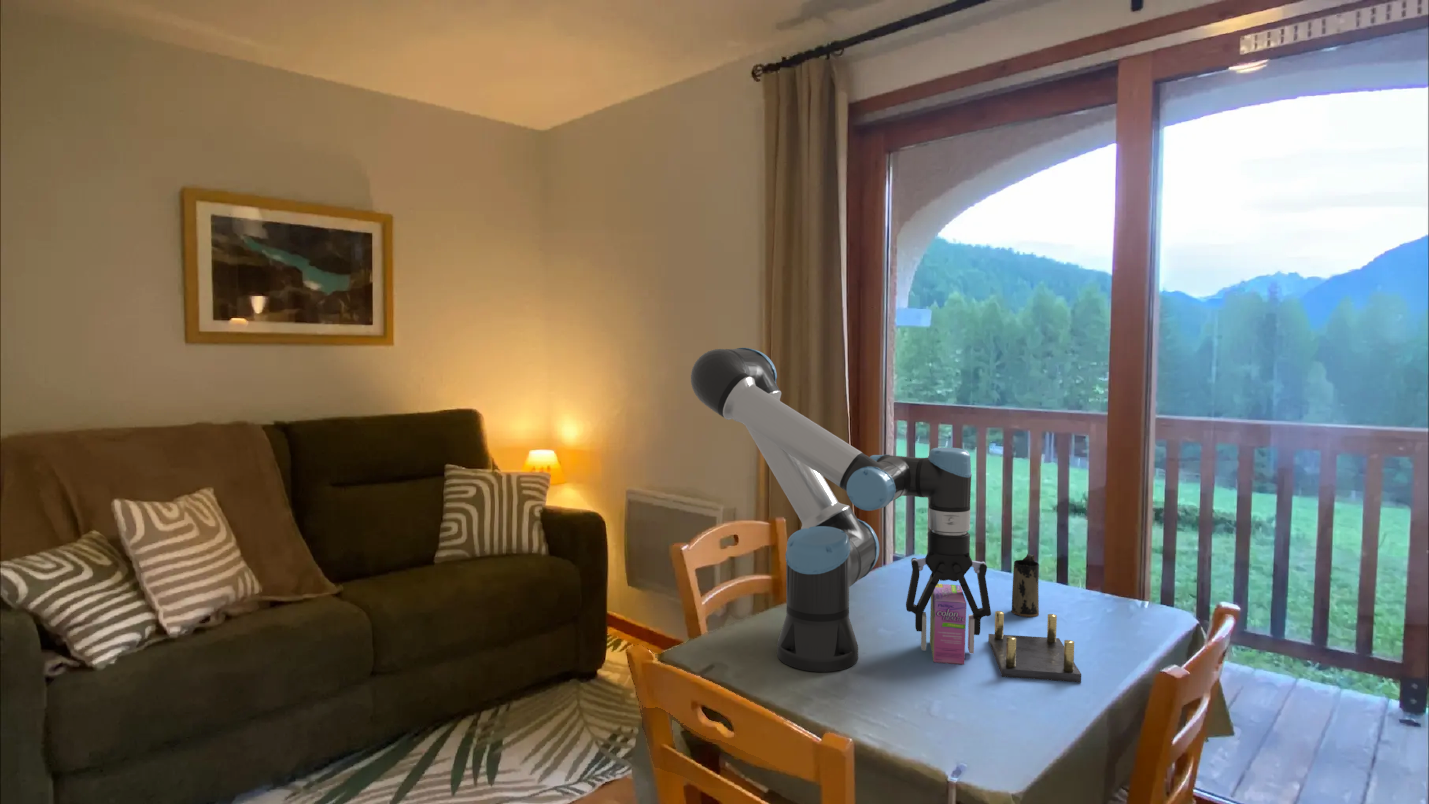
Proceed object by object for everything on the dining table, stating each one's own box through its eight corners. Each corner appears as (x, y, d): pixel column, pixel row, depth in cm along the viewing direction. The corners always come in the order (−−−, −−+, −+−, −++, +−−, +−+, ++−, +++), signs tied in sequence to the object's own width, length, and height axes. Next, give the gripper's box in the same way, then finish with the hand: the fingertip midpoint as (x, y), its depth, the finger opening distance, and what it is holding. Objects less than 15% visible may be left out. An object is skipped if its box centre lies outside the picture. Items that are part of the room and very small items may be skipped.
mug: (1035, 619, 169) (1037, 563, 168) (1008, 614, 172) (1009, 559, 171) (1043, 608, 176) (1044, 555, 175) (1017, 604, 179) (1018, 551, 178)
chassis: (1001, 676, 140) (1002, 640, 140) (988, 641, 157) (989, 608, 157) (1081, 682, 138) (1082, 645, 137) (1058, 645, 154) (1059, 612, 154)
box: (965, 665, 146) (966, 601, 145) (933, 662, 147) (934, 599, 146) (959, 643, 156) (960, 584, 155) (929, 641, 157) (930, 583, 156)
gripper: (892, 533, 148) (891, 652, 150) (1010, 537, 144) (1008, 660, 146) (891, 524, 155) (890, 638, 157) (1004, 528, 151) (1001, 645, 153)
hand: (947, 648), depth 151 cm, fingers open, 8 cm apart
